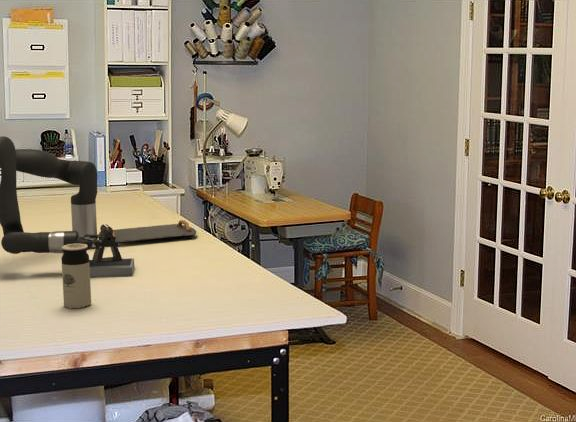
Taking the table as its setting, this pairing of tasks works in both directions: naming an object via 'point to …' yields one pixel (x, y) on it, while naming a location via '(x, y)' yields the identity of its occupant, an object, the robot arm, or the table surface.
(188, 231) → the serving board
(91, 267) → the tray
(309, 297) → the table surface
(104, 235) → the phone stand
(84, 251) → the travel mug
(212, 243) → the table surface
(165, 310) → the table surface
